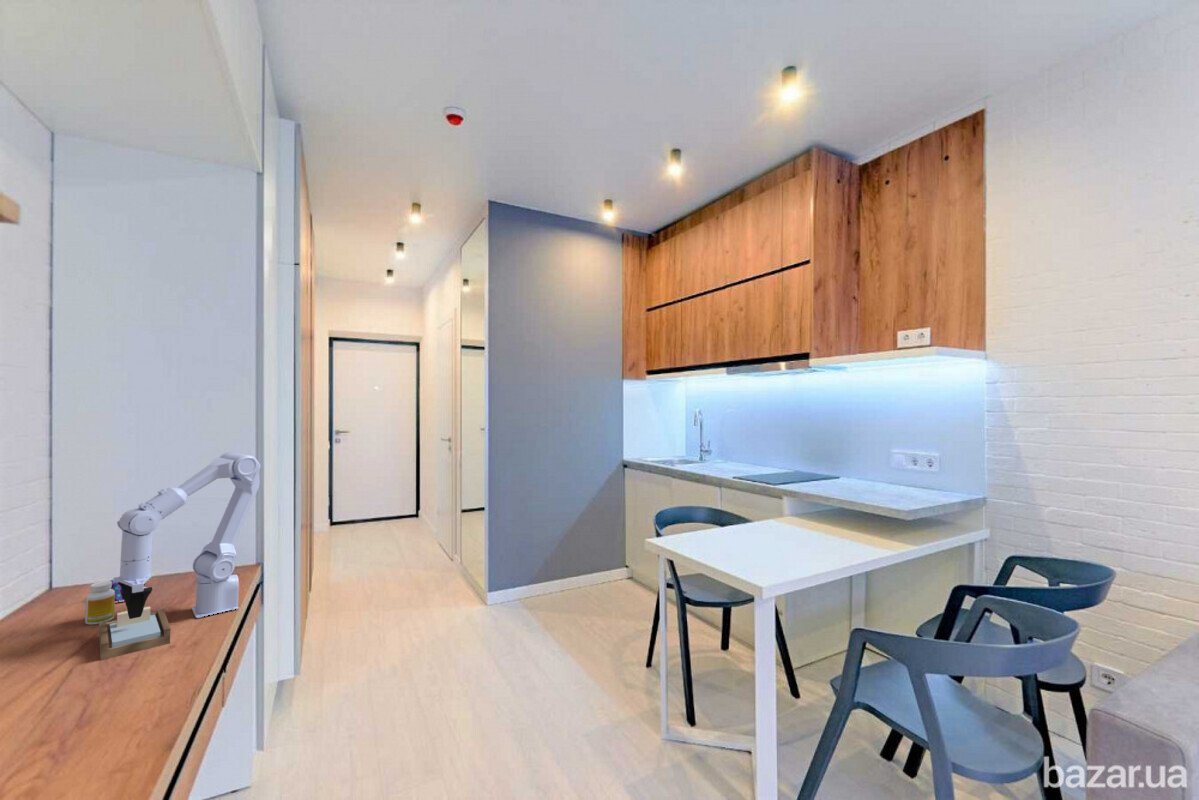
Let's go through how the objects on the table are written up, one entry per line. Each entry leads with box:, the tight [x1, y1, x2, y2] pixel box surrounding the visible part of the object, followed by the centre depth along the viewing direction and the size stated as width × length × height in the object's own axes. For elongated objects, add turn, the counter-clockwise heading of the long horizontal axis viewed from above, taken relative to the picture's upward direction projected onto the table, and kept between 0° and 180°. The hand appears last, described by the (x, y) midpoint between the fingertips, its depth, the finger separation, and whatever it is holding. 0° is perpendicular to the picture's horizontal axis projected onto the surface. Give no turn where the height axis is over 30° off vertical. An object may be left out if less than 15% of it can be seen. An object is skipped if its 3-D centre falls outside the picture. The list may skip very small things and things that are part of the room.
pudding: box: [110, 579, 148, 604], centre depth 146 cm, size 12×12×5 cm
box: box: [98, 608, 172, 661], centre depth 123 cm, size 12×14×4 cm
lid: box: [109, 606, 161, 648], centre depth 123 cm, size 8×12×4 cm
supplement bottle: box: [84, 580, 116, 626], centre depth 131 cm, size 5×5×10 cm
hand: (133, 612), depth 125 cm, fingers open, 7 cm apart
